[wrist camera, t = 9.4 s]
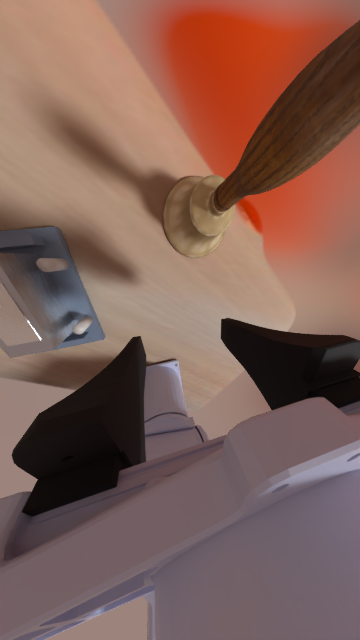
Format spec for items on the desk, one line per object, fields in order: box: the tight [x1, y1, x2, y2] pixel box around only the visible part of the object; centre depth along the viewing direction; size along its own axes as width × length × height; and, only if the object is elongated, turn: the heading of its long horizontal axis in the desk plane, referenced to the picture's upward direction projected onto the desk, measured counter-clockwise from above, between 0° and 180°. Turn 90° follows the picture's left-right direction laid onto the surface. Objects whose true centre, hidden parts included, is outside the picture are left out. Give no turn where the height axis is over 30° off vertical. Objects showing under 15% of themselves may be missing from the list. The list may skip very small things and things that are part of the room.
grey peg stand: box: [0, 227, 105, 353], centre depth 15 cm, size 14×9×4 cm, turn 6°
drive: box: [0, 253, 76, 358], centre depth 14 cm, size 9×4×5 cm, turn 6°
